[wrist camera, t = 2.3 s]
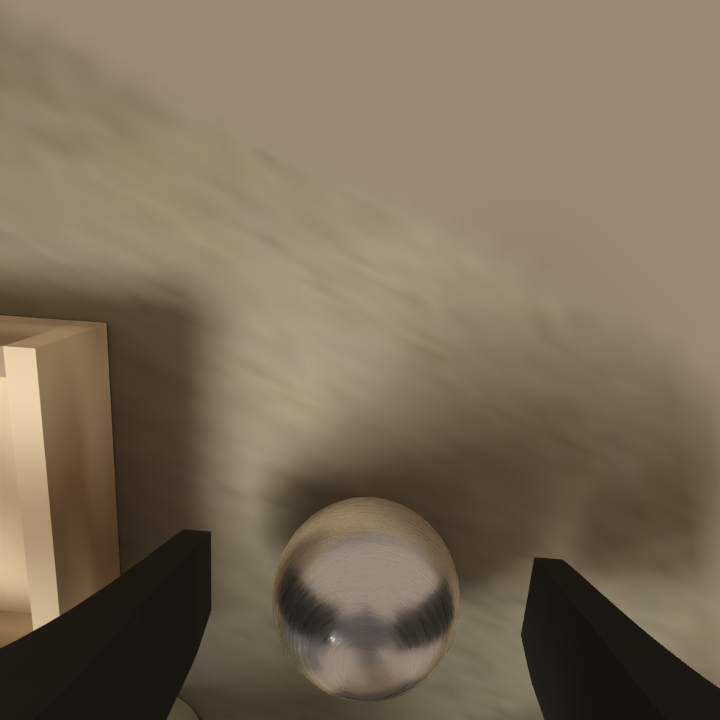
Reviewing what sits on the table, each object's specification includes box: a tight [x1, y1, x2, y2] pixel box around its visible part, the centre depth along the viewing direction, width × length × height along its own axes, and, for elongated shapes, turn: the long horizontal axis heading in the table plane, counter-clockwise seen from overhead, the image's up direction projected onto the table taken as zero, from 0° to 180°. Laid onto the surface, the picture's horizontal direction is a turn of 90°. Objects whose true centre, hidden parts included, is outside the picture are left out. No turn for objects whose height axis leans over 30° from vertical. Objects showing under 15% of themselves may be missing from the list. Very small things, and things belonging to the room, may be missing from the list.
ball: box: [273, 497, 460, 702], centre depth 11 cm, size 4×4×4 cm
